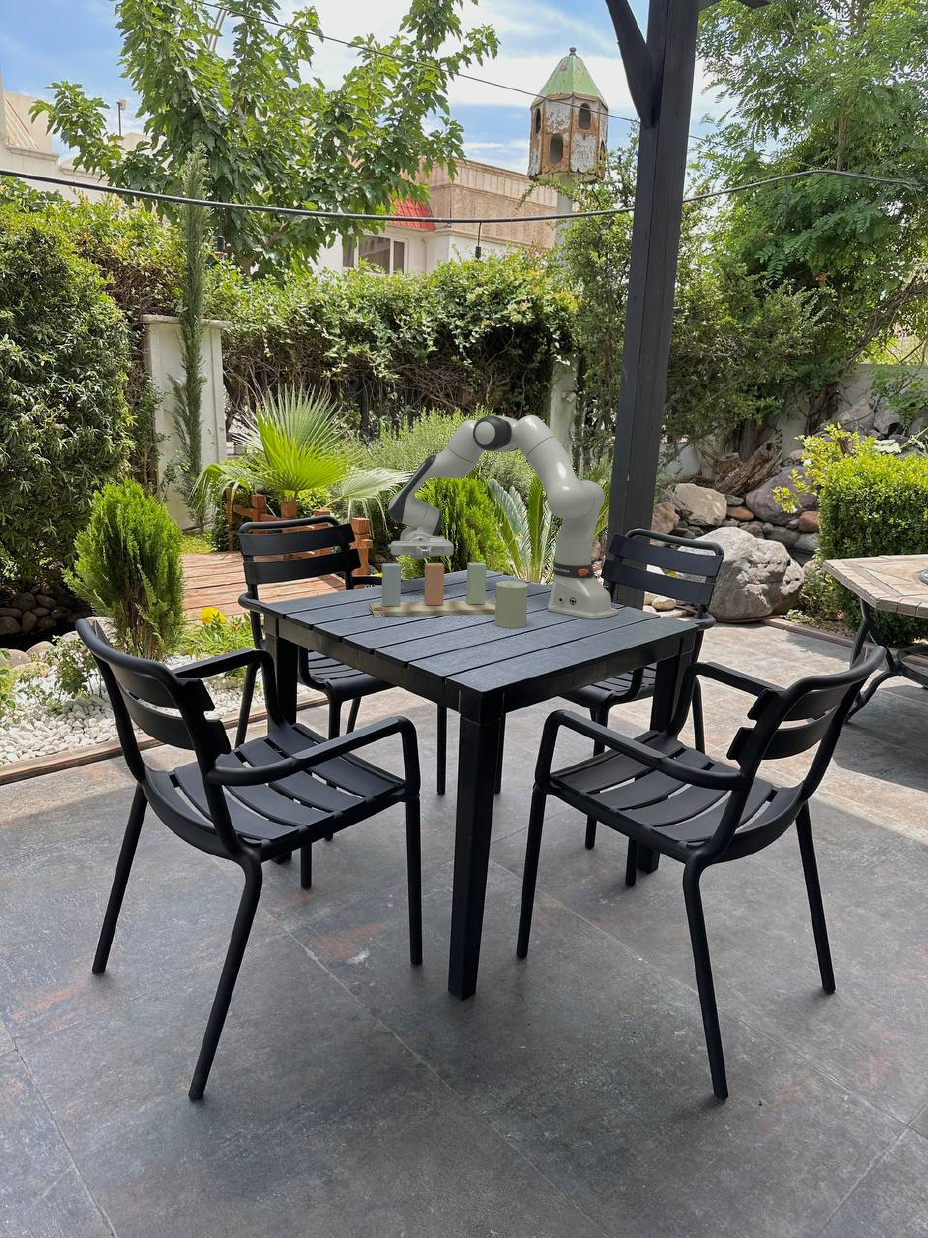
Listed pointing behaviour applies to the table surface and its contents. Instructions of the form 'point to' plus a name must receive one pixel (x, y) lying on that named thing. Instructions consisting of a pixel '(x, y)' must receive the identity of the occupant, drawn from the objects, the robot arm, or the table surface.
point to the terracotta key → (434, 583)
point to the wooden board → (433, 609)
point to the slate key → (391, 584)
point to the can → (511, 604)
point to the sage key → (476, 583)
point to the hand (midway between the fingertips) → (425, 552)
